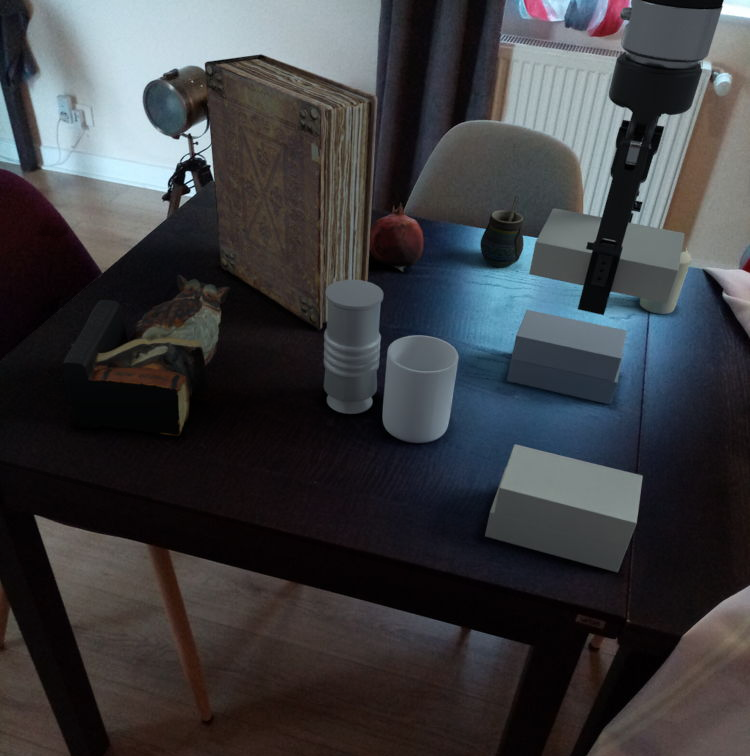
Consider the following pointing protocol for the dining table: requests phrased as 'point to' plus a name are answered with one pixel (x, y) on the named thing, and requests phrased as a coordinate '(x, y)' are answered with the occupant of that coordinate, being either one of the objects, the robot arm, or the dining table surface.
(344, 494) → the dining table surface
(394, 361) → the mug
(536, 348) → the grey stack
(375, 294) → the grey ribbed cylinder
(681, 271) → the cream cylinder
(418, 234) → the fruit
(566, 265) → the white box lid
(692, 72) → the robot arm
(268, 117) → the book
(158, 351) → the bookend
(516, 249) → the mate gourd
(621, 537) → the white stack
